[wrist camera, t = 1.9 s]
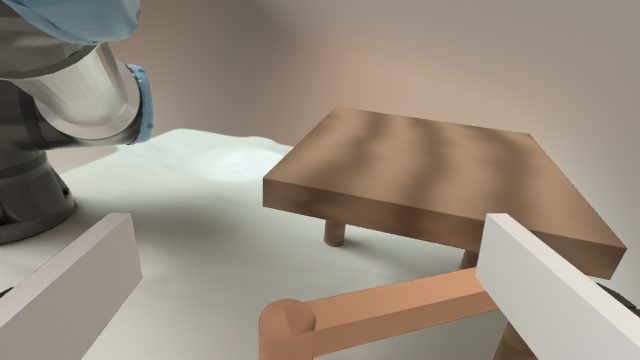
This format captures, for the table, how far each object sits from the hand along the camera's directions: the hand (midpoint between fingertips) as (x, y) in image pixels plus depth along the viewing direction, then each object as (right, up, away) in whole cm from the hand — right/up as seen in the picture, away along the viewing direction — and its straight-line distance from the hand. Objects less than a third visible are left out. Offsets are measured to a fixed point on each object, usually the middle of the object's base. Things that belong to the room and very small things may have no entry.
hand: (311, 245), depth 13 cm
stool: (+9, -13, +30) cm, 34 cm away
